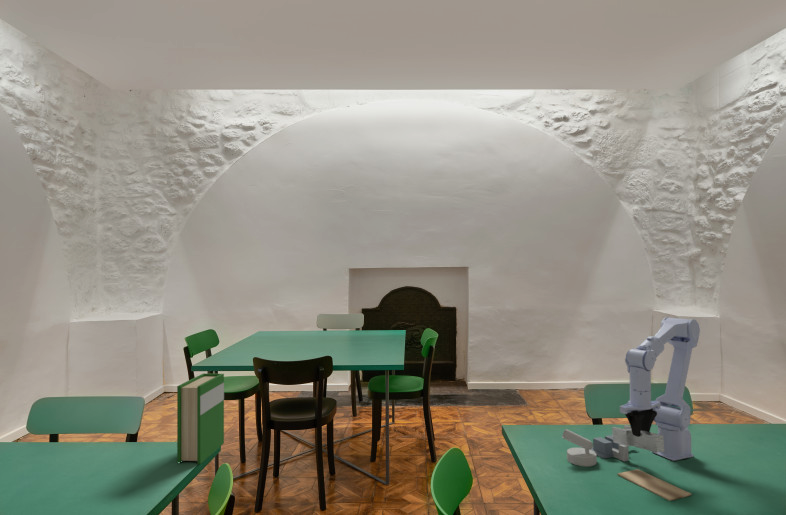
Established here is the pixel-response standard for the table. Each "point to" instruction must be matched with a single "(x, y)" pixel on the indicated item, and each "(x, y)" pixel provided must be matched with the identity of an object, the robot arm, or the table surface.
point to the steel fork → (638, 439)
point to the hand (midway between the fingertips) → (640, 434)
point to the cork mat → (654, 484)
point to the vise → (610, 448)
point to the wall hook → (580, 450)
